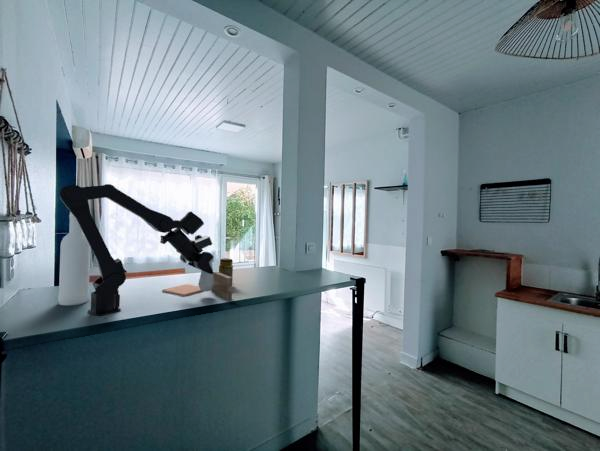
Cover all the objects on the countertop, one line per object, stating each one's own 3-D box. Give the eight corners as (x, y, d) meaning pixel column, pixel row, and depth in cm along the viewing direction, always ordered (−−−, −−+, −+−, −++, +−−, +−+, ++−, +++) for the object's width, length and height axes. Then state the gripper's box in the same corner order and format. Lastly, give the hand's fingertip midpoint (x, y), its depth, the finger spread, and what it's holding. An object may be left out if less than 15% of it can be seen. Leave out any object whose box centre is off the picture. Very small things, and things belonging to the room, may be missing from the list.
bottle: (64, 299, 96) (66, 211, 96) (91, 298, 99) (94, 212, 99) (53, 306, 89) (56, 211, 88) (84, 305, 92) (87, 212, 91)
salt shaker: (209, 292, 104) (210, 257, 104) (194, 291, 105) (196, 256, 105) (216, 289, 110) (218, 255, 109) (203, 287, 111) (205, 254, 111)
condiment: (233, 284, 131) (234, 258, 130) (232, 288, 122) (234, 260, 122) (216, 284, 129) (217, 257, 129) (215, 288, 121) (216, 260, 121)
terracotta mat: (184, 296, 107) (184, 294, 107) (162, 291, 112) (162, 289, 112) (207, 290, 117) (207, 288, 117) (186, 285, 123) (186, 284, 123)
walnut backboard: (226, 299, 105) (227, 278, 105) (211, 291, 116) (211, 271, 116) (231, 298, 107) (232, 277, 106) (215, 290, 117) (216, 271, 117)
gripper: (209, 229, 97) (236, 260, 105) (189, 227, 112) (215, 254, 119) (184, 253, 92) (215, 283, 100) (167, 247, 106) (195, 274, 114)
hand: (210, 272), depth 108 cm, fingers closed on salt shaker, 3 cm apart
